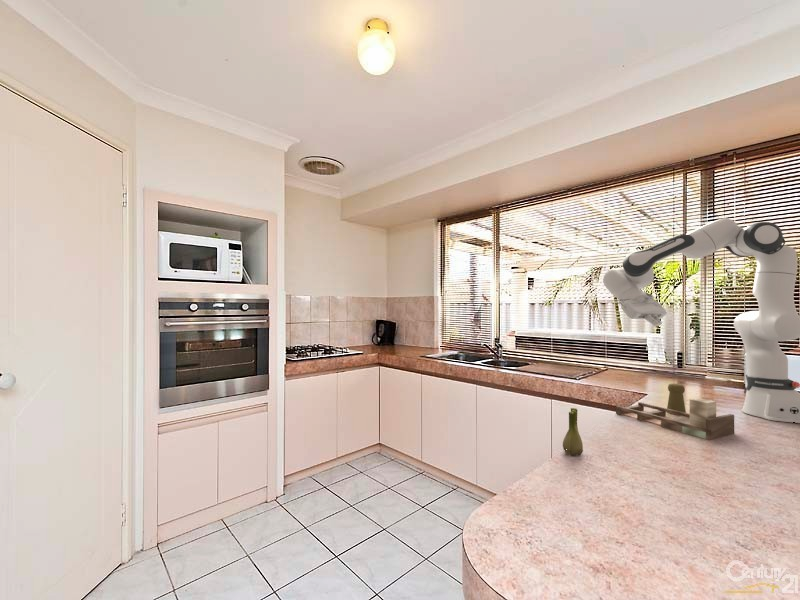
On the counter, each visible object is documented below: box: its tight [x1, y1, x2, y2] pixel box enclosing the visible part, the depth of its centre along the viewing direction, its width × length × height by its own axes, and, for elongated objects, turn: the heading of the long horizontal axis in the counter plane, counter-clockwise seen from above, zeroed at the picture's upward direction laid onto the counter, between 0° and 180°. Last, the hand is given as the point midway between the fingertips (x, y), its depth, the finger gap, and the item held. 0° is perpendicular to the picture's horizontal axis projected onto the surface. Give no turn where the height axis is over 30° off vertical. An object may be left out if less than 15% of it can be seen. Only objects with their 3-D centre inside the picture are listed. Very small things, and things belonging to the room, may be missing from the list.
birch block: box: [689, 397, 717, 428], centre depth 122 cm, size 5×5×8 cm
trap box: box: [615, 402, 735, 441], centre depth 131 cm, size 30×14×6 cm, turn 25°
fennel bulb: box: [562, 407, 584, 456], centre depth 102 cm, size 6×5×12 cm
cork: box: [666, 383, 687, 416], centre depth 144 cm, size 6×6×11 cm
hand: (658, 324), depth 147 cm, fingers closed
